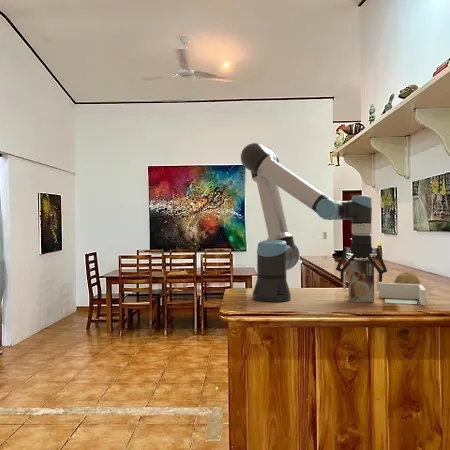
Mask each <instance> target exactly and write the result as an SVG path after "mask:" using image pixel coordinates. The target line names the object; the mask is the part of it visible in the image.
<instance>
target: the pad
mask: <svg viewBox="0 0 450 450" xmlns="http://www.w3.org/2000/svg"><path fill="white" fill-rule="evenodd" d="M417 302H418V300H415V299H396V298H384V303H385V304H394V305H395V304H396V305H398V304H399V305H410V304H417Z"/></svg>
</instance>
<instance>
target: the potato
mask: <svg viewBox="0 0 450 450" xmlns="http://www.w3.org/2000/svg"><path fill="white" fill-rule="evenodd" d="M394 283H398V284H420V279H419V278H418V276H417V275H416V274H415V273H412V272H402V273H399V274H397V276H396V277H395V278H394ZM420 285H421V284H420Z"/></svg>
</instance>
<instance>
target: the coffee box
mask: <svg viewBox="0 0 450 450" xmlns="http://www.w3.org/2000/svg"><path fill="white" fill-rule="evenodd" d="M374 261H375V260H374ZM374 261H370V260H369V259H353V260H350V264H349V265H348V300H349V301H350V302H351V303H352V302H353V303H355V302H356V303H375V267H374Z"/></svg>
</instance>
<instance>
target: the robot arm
mask: <svg viewBox="0 0 450 450" xmlns="http://www.w3.org/2000/svg"><path fill="white" fill-rule="evenodd" d="M240 161H241V164H242V166H243V167H244V168H245V169H246V170H248V171H250V173H251V178H252V181H253V182H255V183H256V186H257V189H258V195H259V199H260V203H261V209H262V213H263V218H264V222H265V227H266V231H267V236H268V237H267V239H266V240H265V239H264V240H261V241H260V242H258V244H257V249H256V256H257V257H256V259H257V260H256V262H257V263H256V272H257V273H256V282H255V285H254V288H253V292H252V300H254V301H258V302H270V303H272V302H273V303H275V302H276V303H280V302H288V301H291V299H292V297H291V296H292V295H291V290H290V287H289V285H288V282H287V270H291V269H292V268H295V266H296V265H297V263H298V262H299V260H300V249H299V247H297V245H296V244H295V241H294V237H293V234H291V233H289V230H288V225H287V222H286V217H285V211H284V208H283V203H282V199H281V198H282V197H281V194H280V189H282V191H284V192H286V193H287V194H289V195H291V196H292V197H293V198H294V199H296V200H297V201H299V202H301V203H302V204H303V205H305V206H306V207H308V208H309V209H310V210H312V211H313V212H314V213H316V214H317V215H318V216H319V217H320V218H321V219H323V220H327V221H332V220H334V221H337V220H339V221H340V220H345V221H346V220H347V221H348V220H349V221H350V220H351V234H352V236H351V246H350V247H346V246H344V247H343V251H342V254H341V257H340V259H339V261H338V263H337V266H336V267H335V270H336V271H337V272H340V281H342V282H343V284H342V285H343V287H342V288H343V290H346V288H347V271H345V270H346V269H347V267H348V268H349V264H350V260H355V258H356V259H362V260H366V259H367V260H370V261H374V269H376V271H377V273H376V292H377V291H378V292H379V283H383V274H385V273H387V272H388V269H387V267H386V264H385V262H384V260H383V258H382V255H381V252H380V251H381V250H380V247H376V248H373V246H372V235H371V234H372V229H373V228H372V219H373V218H372V217H373V216H372V212H373V206H372V197H371V196H369V195H352V196H351V200H334V199H332V198H331V197H329V196H328V195H327V194H324V193H323V192H321V191H320V190H319V189H317V188H315V187H314V186H313V185H312V184H310V183H309V182H307V181H305V180H304V179H302V178H301V177H299V176H298V175H296V174H295V173H293V172H292V171H291V170H289V169H287V168H286V167H284V166H283V165H281V164H280V157H279V155H278V154H277V152H276V151H275V150H274V149H272V148H271V147H269V146H265V145H262V144H261V143H256V142H252V143H250V144H247V145H246V146H244V148H243V149H242V150H241V154H240ZM279 188H280V189H279ZM349 252H351V253H352V256H351V257H350V258H349V259H348V261H347V262H345V264H344V266H342V264H343V262H344V260H345V257H346V255H347V254H349ZM372 252H374V254H376V256H377V259H378V261H379V263H380V266H381V267H382V269H381V268H380V266H379V264H378V263H376V260H374V258H373V257H372V256H371V254H372ZM341 267H342V268H341Z"/></svg>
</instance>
